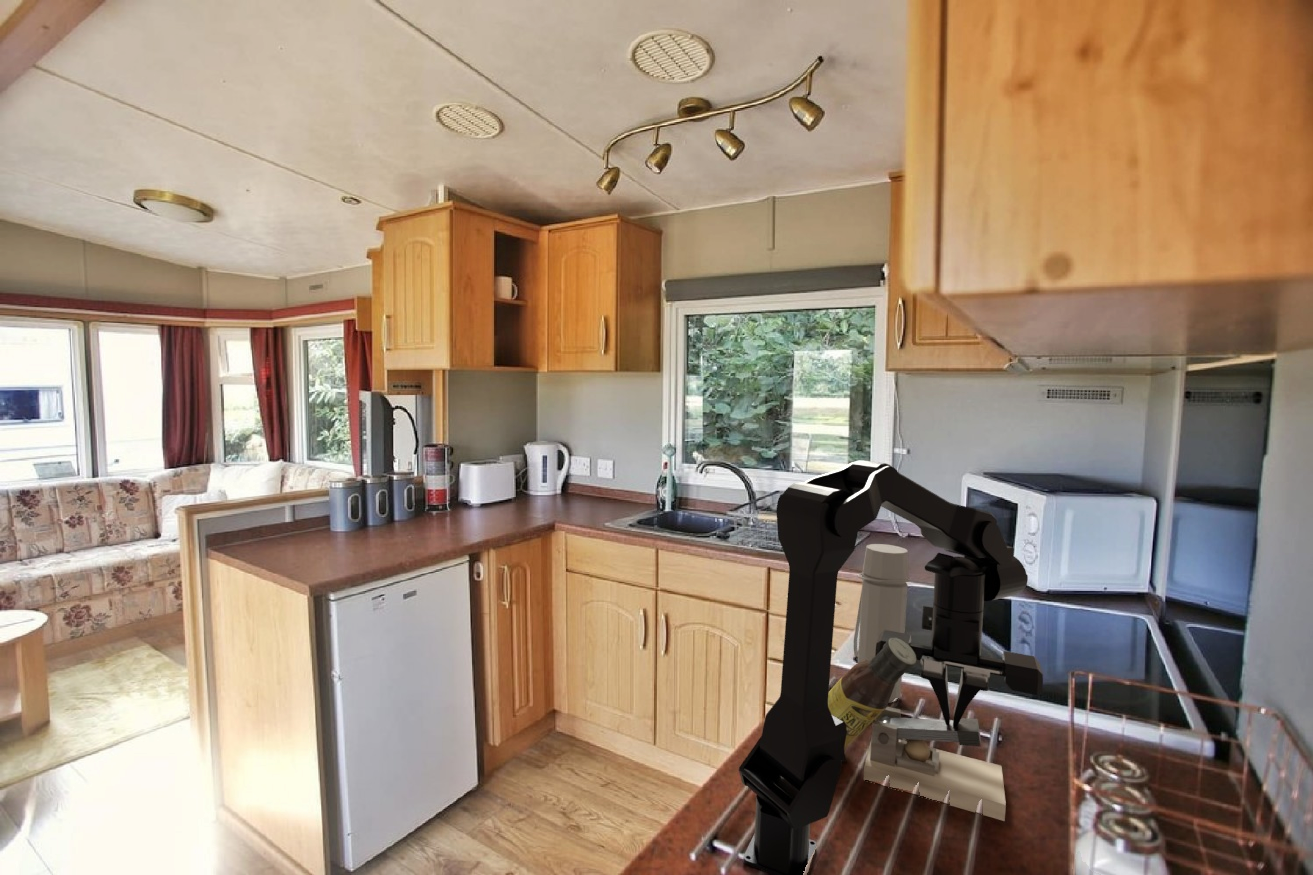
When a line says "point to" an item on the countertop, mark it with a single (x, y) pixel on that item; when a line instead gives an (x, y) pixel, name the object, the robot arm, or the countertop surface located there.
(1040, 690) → the robot arm
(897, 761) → the nutcracker base
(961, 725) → the nutcracker lever
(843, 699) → the sauce bottle
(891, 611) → the water bottle
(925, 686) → the countertop surface
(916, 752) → the walnut
